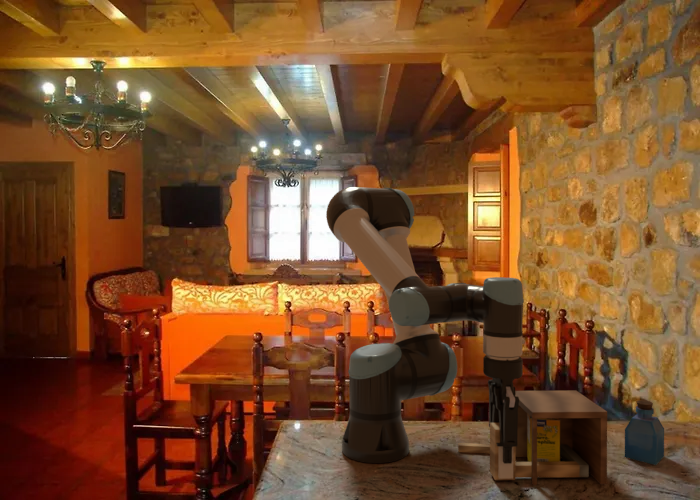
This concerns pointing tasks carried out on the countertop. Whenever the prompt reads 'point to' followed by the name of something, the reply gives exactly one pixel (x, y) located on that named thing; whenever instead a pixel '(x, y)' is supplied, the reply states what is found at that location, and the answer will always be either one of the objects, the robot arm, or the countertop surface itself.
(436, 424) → the countertop surface
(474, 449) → the plain oak stick
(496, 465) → the oak crook
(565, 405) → the walnut box
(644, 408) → the perfume bottle
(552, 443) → the supplement box
